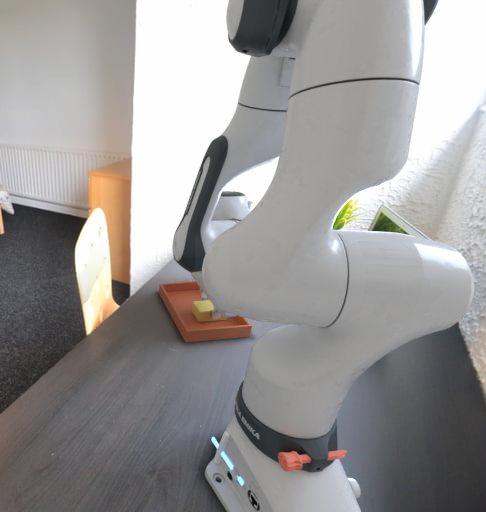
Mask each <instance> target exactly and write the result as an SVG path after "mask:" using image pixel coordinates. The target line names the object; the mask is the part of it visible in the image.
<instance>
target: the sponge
mask: <svg viewBox="0 0 486 512" xmlns="http://www.w3.org/2000/svg"><path fill="white" fill-rule="evenodd" d="M213 309H214V307H213V304H212V303H211V301H210V300H205V301H193V306H192V312H193V314H194V316H195V317H196V319H197V320H198V322H205V321H216V320H226V319H227V317H222V316H221V315H220V318H219V319H212V317H211V316H210V313H211V310H213Z"/></svg>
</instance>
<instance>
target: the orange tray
mask: <svg viewBox="0 0 486 512" xmlns="http://www.w3.org/2000/svg"><path fill="white" fill-rule="evenodd" d="M158 295H159V297H160V298H161V301H163V303H164V306H165V307H166V309H167V311H168V313H169V315H170V317H171V318H172V320H173V322H174V325H175V326H176V328H177V329H178V331H179V334H180V335H181V337H182V339H183V340H184V342H185V343H194V342H195V343H196V342H205V341H216V340H218V341H219V340H227V339H228V340H229V339H240V338H250V337H251V333H252V329H253V325H252V324H251V322H250V321H249V320H248V318H245V317H241V316H235V317H227V319H226V320H216V321H205V322H198V320H197V319H196V317H195V316H194V314H193V312H192V306H193V301H201V293H200V286H199V285H198V284H197V282H196V281H195V280H193V281H179V282H178V281H177V282H165V283H159V287H158Z"/></svg>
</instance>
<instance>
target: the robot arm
mask: <svg viewBox="0 0 486 512" xmlns="http://www.w3.org/2000/svg"><path fill="white" fill-rule="evenodd" d="M438 3H439V0H228V2H227V8H226V17H225V18H226V19H225V20H226V21H225V22H226V24H225V25H226V29H227V40H228V42H229V44H230V45H231V47H232V48H233V49H234V50H235V51H236V53H239V54H243V55H246V56H250V57H249V60H248V63H247V66H246V69H245V73H244V76H243V79H242V83H241V87H240V91H239V95H238V99H237V104H236V108H235V111H234V113H233V115H232V118H231V119H230V122H229V123H228V125H227V126H226V128H225V129H224V131H222V133H221V134H220V135H218V136H217V137H216V138H214V139H212V141H211V142H210V143H209V145H208V147H207V149H206V150H205V151H206V152H205V153H204V156H203V158H202V160H201V163H200V166H199V169H198V172H197V174H196V177H195V181H194V183H193V186H192V189H191V192H190V195H189V198H188V201H187V203H186V207H185V210H184V213H183V214H182V218H181V220H180V222H179V223H178V226H177V227H176V230H175V232H174V234H173V238H172V246H171V247H172V256H173V259H174V261H175V262H176V263H177V264H178V265H179V266H180V267H181V268H182V269H184V270H186V271H187V272H189V273H190V276H191V278H192V279H193V281H196V282H197V284H198V285H199V286H200V293H201V301H205V300H210V301H211V303H212V304H213V307H214V309H213V310H211V313H210V316H211V317H212V319H219V318H220V315H221V316H222V317H235V316H241V317H245V318H246V319H247V320H248V319H249V320H253V321H256V322H261V323H272V324H282V325H281V326H278V327H276V328H272V329H270V330H268V331H267V332H265V333H264V334H262V335H261V336H259V337H258V339H257V340H256V341H255V343H254V344H253V345H252V347H251V349H250V351H249V355H248V361H247V364H246V365H247V366H246V370H245V374H244V378H243V380H242V381H241V383H240V385H239V387H238V390H237V391H236V395H235V401H234V414H233V416H232V417H231V420H230V421H229V423H228V425H227V427H226V428H225V430H224V432H223V433H222V437H221V439H220V441H219V442H218V441H217V439H216V437H215V436H212V437H211V443H212V444H213V445H214V446H215V448H216V450H215V454H214V457H213V458H212V460H210V461H209V463H208V464H207V466H206V468H205V470H204V477H205V479H206V480H207V482H208V485H209V486H210V487H211V489H212V490H213V492H214V493H215V496H216V498H218V500H219V502H220V504H221V505H222V506H223V508H224V510H225V511H226V512H362V509H361V507H360V505H359V502H358V500H357V499H359V498H360V497H361V495H362V492H361V491H362V490H361V487H360V484H359V483H358V481H357V480H356V479H355V478H353V477H348V476H347V473H346V471H345V468H344V466H343V464H342V462H341V459H344V458H346V454H347V453H348V450H347V449H339V450H338V448H339V447H338V445H339V444H338V424H337V423H338V420H337V417H338V413H339V412H340V410H341V407H342V405H343V403H344V401H345V399H346V397H347V395H348V393H349V391H350V389H351V387H352V386H353V384H354V383H355V382H356V380H358V378H359V377H360V376H361V375H362V374H363V373H365V371H367V370H369V368H370V367H372V366H373V365H374V364H375V363H376V362H378V361H380V360H381V359H382V358H384V357H385V356H387V355H389V354H390V353H391V352H393V351H394V350H396V349H398V348H399V347H401V346H403V345H405V344H407V343H409V342H411V341H415V340H416V339H419V338H421V337H425V336H427V335H431V334H433V333H438V332H440V331H444V330H447V329H449V328H452V327H453V326H454V325H456V324H457V323H458V322H459V321H460V320H461V319H462V318H463V317H464V316H465V314H467V312H468V310H469V309H470V306H471V305H472V302H473V299H474V296H475V279H474V273H473V272H472V268H471V266H470V265H469V263H468V261H467V260H466V258H465V257H464V256H463V254H462V253H461V252H460V251H459V250H457V248H455V247H454V246H452V245H450V244H448V243H445V242H440V241H436V240H433V239H430V238H424V237H421V236H415V235H410V234H405V233H402V232H393V231H392V232H391V231H370V230H369V231H368V230H350V229H349V230H347V229H333V226H334V224H335V221H336V218H337V216H338V215H339V213H340V211H341V210H342V209H343V207H344V206H345V205H346V204H347V203H349V201H350V200H352V199H355V198H357V197H360V196H364V195H365V194H368V193H371V192H373V191H375V190H377V189H379V188H382V187H383V186H385V185H386V184H388V183H389V182H391V181H392V180H393V179H395V177H396V176H397V175H398V174H399V173H401V171H402V170H403V169H404V167H405V166H406V164H407V162H408V159H409V153H410V146H411V141H412V134H413V130H414V123H415V118H416V111H417V106H418V98H419V93H420V86H421V80H422V73H423V66H424V65H423V64H424V52H425V33H426V32H425V31H426V28H425V27H426V26H427V24H428V22H429V20H430V19H431V17H432V16H433V14H434V12H435V10H436V8H437V6H438ZM277 160H278V161H277ZM275 161H277V164H276V169H275V171H274V174H273V177H272V180H271V181H270V183H269V185H268V188H267V190H266V191H265V193H264V194H263V196H262V197H261V199H260V200H259V202H258V203H257V204H256V205H255V206H254V207H253V208H252V209H251V212H250V210H249V208H248V203H247V201H248V197H247V195H246V194H245V193H243V192H240V191H234V190H233V191H230V190H228V191H227V190H225V191H224V189H225V188H226V187H227V185H228V184H229V183H230V182H232V181H233V180H234V179H236V178H237V177H239V176H240V175H242V174H245V173H246V172H248V171H251V170H253V169H256V168H258V167H261V166H264V165H267V164H270V163H272V162H275Z"/></svg>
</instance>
